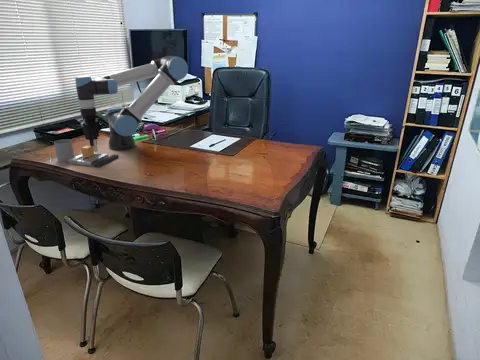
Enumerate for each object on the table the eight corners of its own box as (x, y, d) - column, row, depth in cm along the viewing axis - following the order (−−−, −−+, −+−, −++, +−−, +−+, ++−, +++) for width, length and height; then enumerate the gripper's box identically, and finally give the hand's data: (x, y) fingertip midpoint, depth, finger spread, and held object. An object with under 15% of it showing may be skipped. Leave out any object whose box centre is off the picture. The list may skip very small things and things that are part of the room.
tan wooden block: (87, 155, 183) (86, 145, 181) (94, 155, 182) (92, 146, 180) (82, 157, 180) (81, 147, 178) (89, 158, 179) (87, 148, 177)
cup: (56, 162, 179) (52, 144, 175) (59, 157, 186) (55, 139, 182) (73, 161, 181) (70, 143, 177) (76, 156, 188) (72, 138, 184)
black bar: (113, 156, 188) (113, 154, 187) (118, 157, 187) (118, 154, 186) (93, 167, 173) (92, 164, 172) (98, 167, 172) (98, 164, 171)
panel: (87, 155, 190) (86, 150, 189) (108, 157, 186) (108, 152, 185) (68, 163, 178) (67, 158, 177) (91, 166, 174) (90, 161, 173)
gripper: (90, 104, 183) (96, 147, 192) (72, 109, 172) (80, 154, 181) (102, 105, 181) (108, 148, 190) (85, 110, 170) (92, 155, 179)
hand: (94, 151), depth 185 cm, fingers closed
